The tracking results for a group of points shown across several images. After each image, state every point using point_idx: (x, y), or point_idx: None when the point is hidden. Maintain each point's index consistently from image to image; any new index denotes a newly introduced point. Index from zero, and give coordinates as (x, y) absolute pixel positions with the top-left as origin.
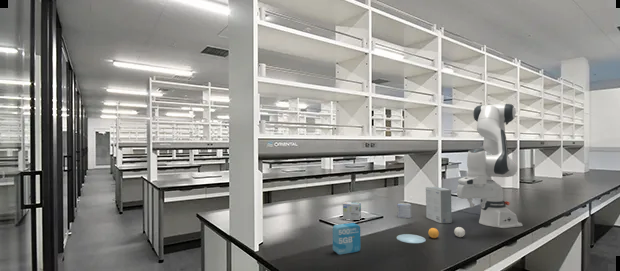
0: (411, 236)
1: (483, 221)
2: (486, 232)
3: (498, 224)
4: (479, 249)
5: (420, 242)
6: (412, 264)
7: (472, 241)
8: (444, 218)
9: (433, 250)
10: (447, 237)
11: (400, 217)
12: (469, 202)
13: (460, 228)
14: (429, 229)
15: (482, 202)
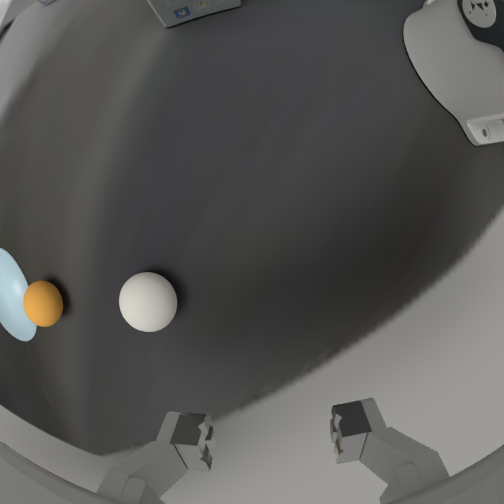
0: (5, 275)
1: (423, 56)
2: (362, 206)
3: (471, 123)
4: None
5: (28, 339)
6: (45, 430)
7: (195, 357)
8: (180, 5)
9: (62, 396)
10: (102, 294)
11: (49, 2)
12: (144, 456)
13: (139, 327)
14: (23, 301)
15: (371, 445)
